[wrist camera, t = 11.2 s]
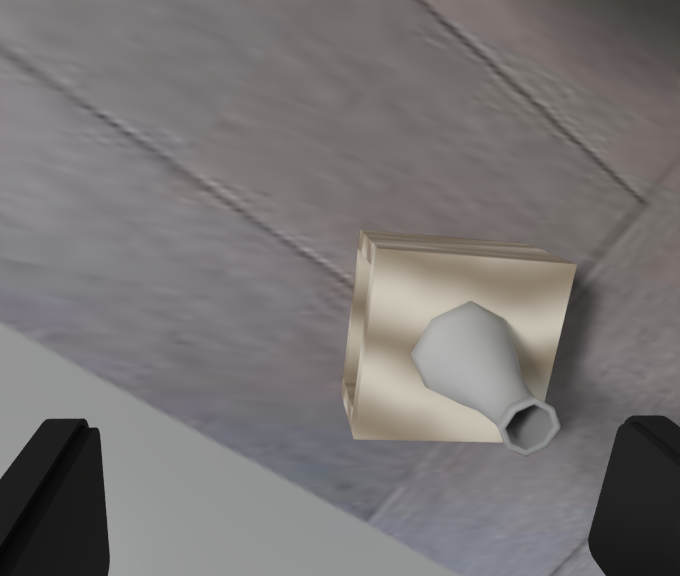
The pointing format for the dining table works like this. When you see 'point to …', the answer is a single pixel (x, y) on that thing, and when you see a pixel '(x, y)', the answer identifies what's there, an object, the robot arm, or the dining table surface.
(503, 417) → the flask
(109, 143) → the dining table surface
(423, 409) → the grooved beige box
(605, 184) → the dining table surface
